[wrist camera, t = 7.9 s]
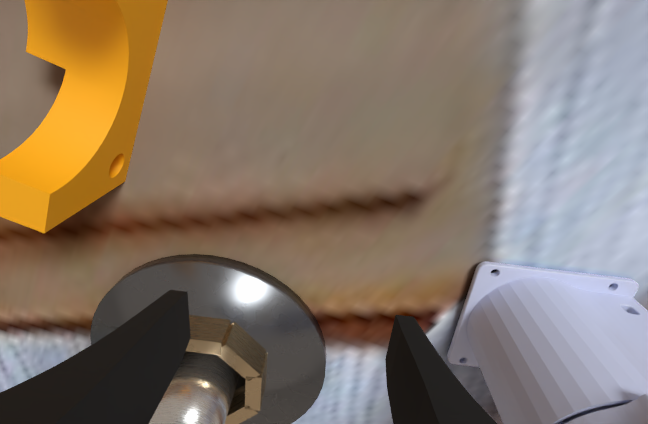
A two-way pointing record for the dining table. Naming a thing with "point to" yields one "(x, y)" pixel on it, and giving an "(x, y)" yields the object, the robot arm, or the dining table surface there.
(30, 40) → the pipe clamp
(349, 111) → the dining table surface
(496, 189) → the dining table surface
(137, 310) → the ring collar
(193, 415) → the piston
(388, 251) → the dining table surface
